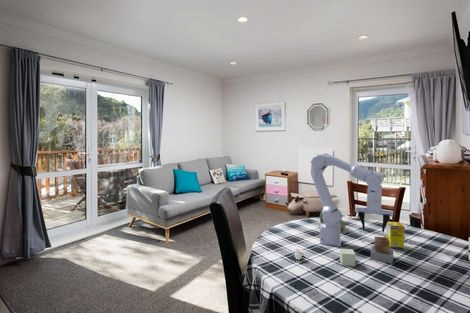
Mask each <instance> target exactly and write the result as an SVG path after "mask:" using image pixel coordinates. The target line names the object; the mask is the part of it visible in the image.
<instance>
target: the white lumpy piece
mask: <svg viewBox="0 0 470 313" xmlns="http://www.w3.org/2000/svg"><path fill="white" fill-rule="evenodd" d="M294 255H295V256H294V257H295V260H297V259H298V260H297V261H301V260H302V258H303V257H302V256H304V252H303V250H302V249H299V248H298V249H295V250H294ZM305 257H306V258H308V257H307V256H305ZM300 259H301V260H300Z"/></svg>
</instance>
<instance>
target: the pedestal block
mask: <svg viewBox="0 0 470 313" xmlns="http://www.w3.org/2000/svg"><path fill="white" fill-rule="evenodd" d="M370 260H372V261H378V262H382V263H386V264H391V265H392V264H393V260H394V248H390V254H387V253H378V252H376V250H375V245H372V248H371V250H370Z"/></svg>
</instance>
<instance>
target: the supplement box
mask: <svg viewBox="0 0 470 313" xmlns="http://www.w3.org/2000/svg"><path fill="white" fill-rule="evenodd" d="M385 229H386V230H385V238H388V239H389V242H390V249H393V250H394V249H395V250H397V249H398V250H404V249H405V225H403V224H402V223H401V222H399V221H397V222H396V221H388V222H387V224H386V226H385Z"/></svg>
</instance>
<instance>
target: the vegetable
mask: <svg viewBox="0 0 470 313" xmlns="http://www.w3.org/2000/svg"><path fill="white" fill-rule="evenodd" d="M322 211H323V209H322V210H321V211H320V214H319V220H320V221H319V222H320V225H321V224H325V223H324V221H323V213H322ZM340 224H341V229H340V230H344V229H345V228H346V227H347V223H346V222H345V221H343V220H341V221H340Z"/></svg>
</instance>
